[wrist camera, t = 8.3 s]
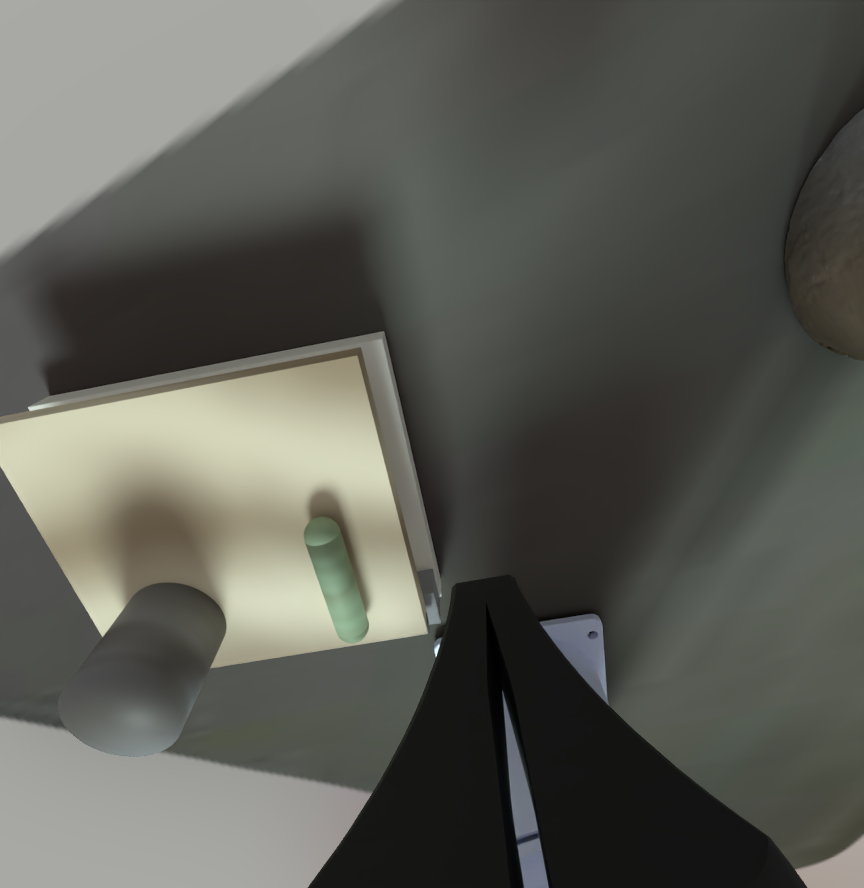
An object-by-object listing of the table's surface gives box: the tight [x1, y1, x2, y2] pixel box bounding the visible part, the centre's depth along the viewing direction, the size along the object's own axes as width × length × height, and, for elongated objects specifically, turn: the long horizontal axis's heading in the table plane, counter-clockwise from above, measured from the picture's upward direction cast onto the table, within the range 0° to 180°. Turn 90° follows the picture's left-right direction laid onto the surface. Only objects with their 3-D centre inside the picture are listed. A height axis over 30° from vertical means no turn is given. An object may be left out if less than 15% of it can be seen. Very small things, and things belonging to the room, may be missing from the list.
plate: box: [0, 347, 430, 757], centre depth 17 cm, size 11×12×5 cm
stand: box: [28, 331, 442, 625], centre depth 21 cm, size 12×13×3 cm
